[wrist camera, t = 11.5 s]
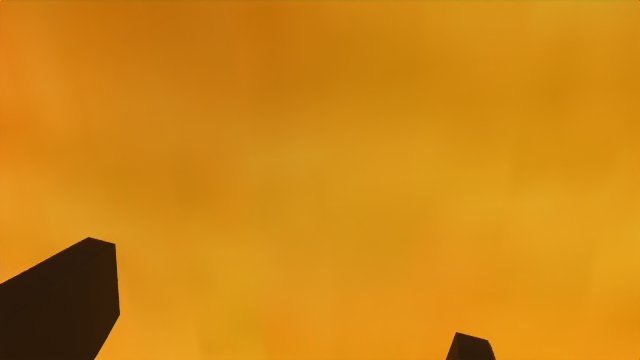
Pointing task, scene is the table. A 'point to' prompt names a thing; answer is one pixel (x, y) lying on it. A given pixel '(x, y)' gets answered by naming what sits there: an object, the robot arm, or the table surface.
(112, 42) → the table surface
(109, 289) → the robot arm
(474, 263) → the table surface
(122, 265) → the table surface
